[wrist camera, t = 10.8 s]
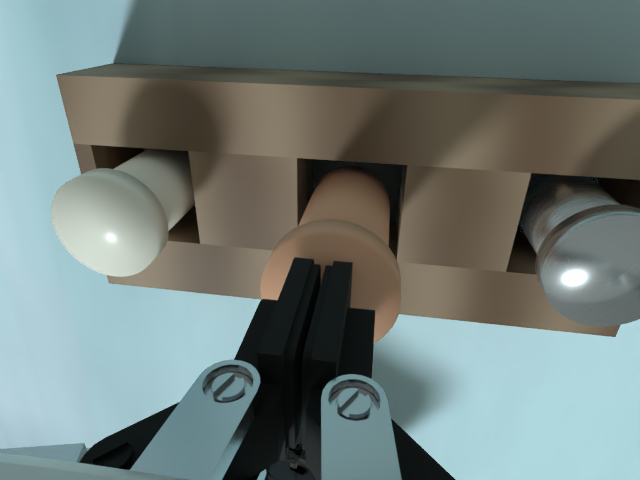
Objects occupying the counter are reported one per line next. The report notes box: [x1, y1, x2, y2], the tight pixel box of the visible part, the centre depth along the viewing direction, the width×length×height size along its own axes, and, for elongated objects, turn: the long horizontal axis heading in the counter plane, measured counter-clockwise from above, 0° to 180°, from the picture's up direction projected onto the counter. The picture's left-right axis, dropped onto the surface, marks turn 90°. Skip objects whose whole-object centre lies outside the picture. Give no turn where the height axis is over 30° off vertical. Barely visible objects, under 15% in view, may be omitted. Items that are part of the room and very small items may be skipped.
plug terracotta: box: [260, 167, 401, 343], centre depth 16 cm, size 4×4×7 cm
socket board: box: [56, 64, 640, 337], centre depth 20 cm, size 24×10×4 cm, turn 89°
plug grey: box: [519, 173, 640, 326], centre depth 17 cm, size 4×4×7 cm
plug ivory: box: [51, 149, 195, 277], centre depth 20 cm, size 4×4×7 cm
